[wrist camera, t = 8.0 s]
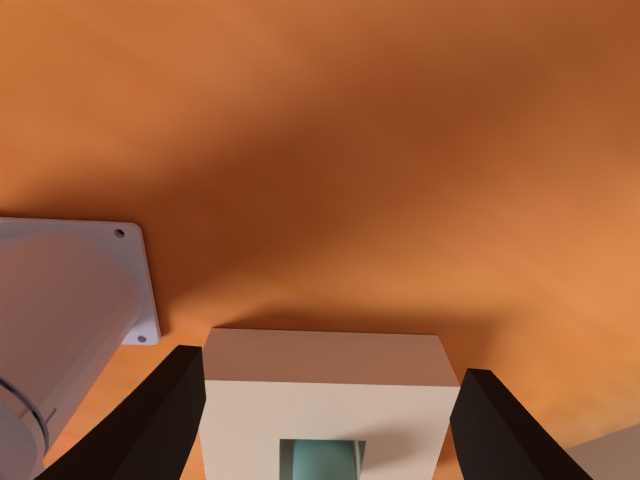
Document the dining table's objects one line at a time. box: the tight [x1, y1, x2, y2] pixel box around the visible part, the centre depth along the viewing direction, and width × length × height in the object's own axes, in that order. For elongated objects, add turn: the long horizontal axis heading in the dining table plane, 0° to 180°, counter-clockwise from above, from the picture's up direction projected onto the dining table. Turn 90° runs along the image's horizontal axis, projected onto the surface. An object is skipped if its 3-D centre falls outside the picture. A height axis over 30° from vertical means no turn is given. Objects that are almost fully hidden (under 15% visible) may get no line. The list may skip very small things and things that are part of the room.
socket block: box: [199, 328, 461, 480], centre depth 24 cm, size 14×14×4 cm
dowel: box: [293, 439, 356, 480], centre depth 22 cm, size 4×4×8 cm
